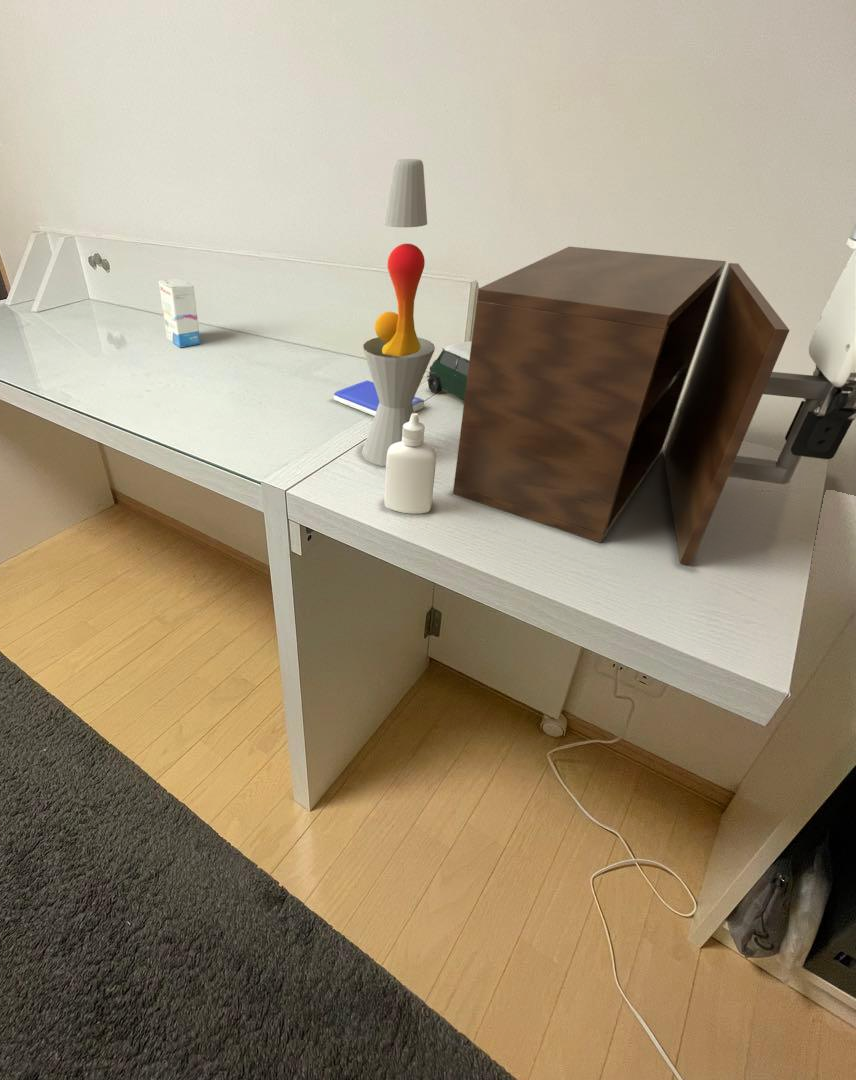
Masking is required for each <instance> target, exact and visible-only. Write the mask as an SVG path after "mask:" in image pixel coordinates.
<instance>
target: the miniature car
mask: <svg viewBox="0 0 856 1080" xmlns="http://www.w3.org/2000/svg"><path fill="white" fill-rule="evenodd" d="M471 344H472V340H471V341H470V340H469V341H464V342H462V341H461V342H456V343H452V344H450V345H447V346H444V347H442V350H441V352H440V354H439V355H438V357H437V358H436V359H435V360H433V361H432V364H431V365H430V366H429V373H428V374H427V375H426V379H427V384H428V389H429V390H430V392H431V393H438V392H442V391H443V390H444V391H446V392H447V393H449V394H451V395H452V396H455V397H456V398H459V399H461V400H462V401H464V400H465V392H466V384H467V376H468V368H469V360H470V352H471Z"/></svg>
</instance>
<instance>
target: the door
mask: <svg viewBox="0 0 856 1080" xmlns="http://www.w3.org/2000/svg"><path fill="white" fill-rule="evenodd" d="M706 325H707V326H706V327H705V331H704V333H703V336H702V339H701V343H700V346H699V348H698V351H697V354H696V357H695V359H694V362H693V366H692V367H691V368H692V369H691V371H690V375H689V378H688V380H687V383H686V386H685V389H684V392H683V395H682V398H681V401H680V404H679V407H678V410H677V412H676V415H675V418H674V421H673V424H672V427H671V429H670V433H669V436H668V438H667V442H666V445H665V446H664V447H665V448H664V450H663V457H664V465H665V470H666V477H667V485H668V490H669V497H670V505H671V510H672V517H673V525H674V531H675V537H676V545H677V551H678V552H677V553H678V558H679V564H683V565H687V566H692V562H693V561H694V558H695V557H696V554H697V551H698V549H699V547H700V544H701V542H702V539H703V538H704V535H705V532H706V529H707V528H708V526H709V523H710V520H711V518H712V516H713V513H714V511H715V510H716V509H715V508H716V506H717V504H718V502H719V498H720V496H721V494H722V492H723V490H724V488H725V485H726V482H727V480H728V478H736V479H743V480H749V481H756V482H765V483H771V484H778V485H787V484H789V483H790V481H791V479H792V477H793V475H794V473H795V471H796V469H797V467H798V465H799V463H800V461H801V459H802V457H803V456H797V455H793V454H792V452H791V447H792V445H793V443H794V441H795V439H796V437H797V435H798V432H799V430H800V428H801V426H802V424H803V422H804V420H805V418H806V416H807V414H808V411H809V412H814V410H815V407H816V405H817V403H818V401H819V399H820V397H821V395H822V393H823V391H824V389H825V387H826V385H827V383H828V381H829V380H828V379H827V378H826V377H823V376H812V375H813V374H812V375H811V374H801V373H789V372H779V371H774V368H775V366H776V364H777V361H778V359H779V356H780V354H781V351H782V349H783V347H784V345H785V342H786V340H787V338H788V335H789V333H790V329H789V327H788V325H787V324H786V323H785V322H784V320H782V318H781V316H779V314H778V313H777V312H776V310H775V309H774V307H772V305H771V304H770V303H769V301H768V300H767V299H766V297H765V296H764V295H763V294H762V292H761V291H760V290H759V288H758V286H756V285H755V283H754V282H753V280H752V279H751V278H750V277H749V275H748V274H747V273H746V271H745V270H744V269H743V268H742V266H741V264H739V263H737V262H735V263H733V262H728V264H727V266H726V269H725V273H724V275H723V278H722V281H721V284H720V287H719V290H718V293H717V296H716V299H715V302H714V304H713V308H712V311H711V313H710V315H709V319H708V322H707V324H706ZM763 395H767V396H778V397H787V398H798V399H804V398H805V399H806V400H804V401H805V402H804V404H803V406H802V409H801V411H800V413H799V415H798V417H797V419H796V421H795V424H794V426H793V428H792V430H791V432H790V434H789V436H788V439H787V441H786V440H785V443H784V445H783V447H782V449H781V451H780V453H779V456H778V457H777V460H771V459H765V458H758V457H750V456H749V457H748V456H741V455H738V454H739V451H740V449H741V447H742V444H743V443H744V439H745V437H746V435H747V433H748V430H749V428H750V425H751V424H752V421H753V418H754V416H755V413H756V411H757V409H758V406H759V404H760V403H761V402H760V401H761V400H762V397H763Z"/></svg>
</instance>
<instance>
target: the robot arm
mask: <svg viewBox="0 0 856 1080" xmlns="http://www.w3.org/2000/svg"><path fill="white" fill-rule="evenodd" d="M845 246H846V247H848V248H849V249H853V252H852V254H851V256H850V257H849V259H848V262H847V263H846V265H845V266H844V268H843V271H842V273H840V276H839V278H838V280H837V282H836V284H835V286H834V288H833V290H832V292H831V293H830V296H829V298H828V300H827V302H826V304H825V306H824V309H823V311H822V313H821V316H820V317H819V320H818V322H817V324H816V326H815V330H814V331H813V334H812V337H811V339H810V342H809V346H808V354H809V356H810V358H811V360H812V361H813V363H814V364H815V368H814V371H813V373H812V376H823V377H826V378H827V379H828V380H829V381H828V383H827V385H826V387H825V389H824V391H823V393H822V395H821V397H820V399H819V401H818V403H817V405H816V407H815V410H814V412H809V411H808V414H807V416H806V418H805V420H804V422H803V424H802V426H801V428H800V430H799V432H798V435H797V437H796V439H795V441H794V443H793V445H792V447H791V452H792V454H793V455H797V456H802V457H805V458H813V459H820V460H821V459H822V460H831V459H833V458H834V457H835V456H836V454H837V452H838V450H839V449H840V446H841V444H842V442H843V440H844V439H845V437H846V435H847V433H848V431H849V430H850V427H851V425H852V423H853V421H856V222H855V223H854V225H853V227H852V229H851V232H850V234H849V237H848V239H847V241H846V243H845ZM805 400H806V399H805V398H803V400H801V401H800V403H799V406H798V408H797V411H796V413H795V414H794V416H793V419H792V421H791V424H790V425H789V427H788V430H787V432H786V434H785V436H784V440H785V442H786V441H787V439H788V436H789V434H790V432H791V430H792V428H793V426H794V424H795V421H796V419H797V417H798V415H799V413H800V411H801V409H802V406H803V404H804V402H805Z"/></svg>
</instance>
